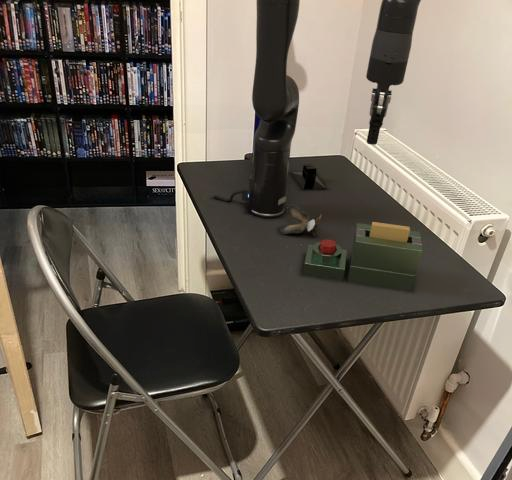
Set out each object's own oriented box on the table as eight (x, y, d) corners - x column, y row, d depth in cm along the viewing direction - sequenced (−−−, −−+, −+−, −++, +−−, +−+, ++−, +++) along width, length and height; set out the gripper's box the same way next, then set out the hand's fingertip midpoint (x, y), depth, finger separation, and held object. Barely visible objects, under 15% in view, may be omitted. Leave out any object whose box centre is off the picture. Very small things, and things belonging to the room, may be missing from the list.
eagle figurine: (319, 222, 146) (285, 211, 146) (325, 208, 139) (290, 196, 139) (310, 248, 143) (276, 236, 143) (316, 234, 136) (280, 222, 136)
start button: (318, 252, 126) (319, 245, 125) (319, 245, 129) (321, 238, 128) (334, 255, 126) (336, 248, 125) (335, 247, 128) (336, 240, 127)
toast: (364, 259, 126) (372, 224, 121) (364, 256, 127) (372, 221, 122) (401, 265, 126) (410, 230, 120) (400, 261, 127) (409, 226, 122)
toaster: (347, 281, 126) (355, 241, 120) (349, 261, 133) (356, 222, 127) (411, 291, 125) (422, 251, 119) (409, 270, 132) (420, 231, 126)
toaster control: (302, 274, 127) (305, 255, 124) (306, 255, 134) (309, 236, 131) (342, 281, 126) (346, 261, 123) (344, 261, 133) (348, 242, 130)
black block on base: (291, 173, 174) (292, 158, 171) (313, 173, 175) (315, 158, 172) (303, 190, 164) (305, 174, 161) (326, 189, 166) (329, 173, 163)
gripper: (371, 46, 118) (355, 131, 129) (369, 60, 108) (352, 151, 118) (407, 51, 117) (389, 136, 128) (409, 65, 107) (388, 156, 118)
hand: (371, 143), depth 123 cm, fingers closed
